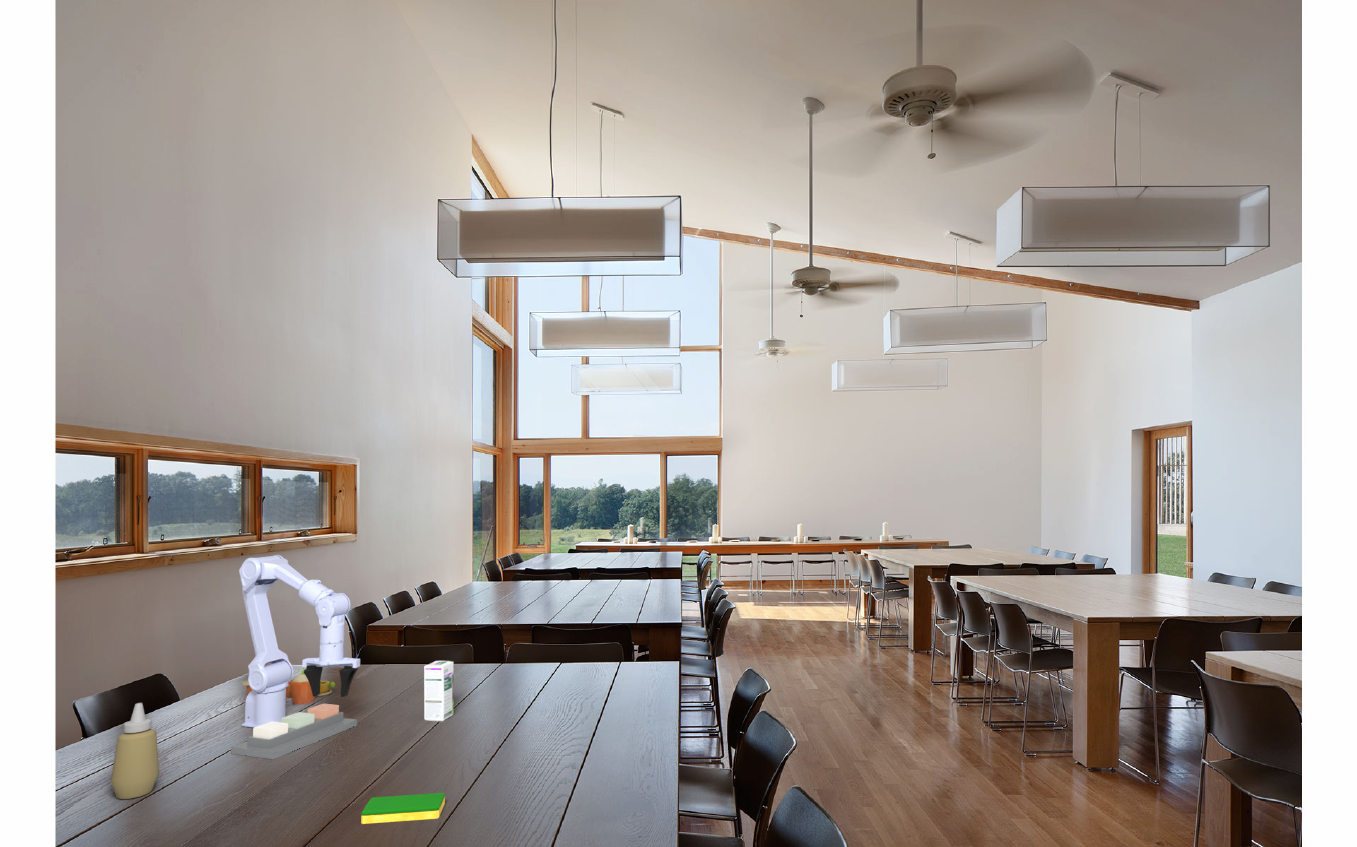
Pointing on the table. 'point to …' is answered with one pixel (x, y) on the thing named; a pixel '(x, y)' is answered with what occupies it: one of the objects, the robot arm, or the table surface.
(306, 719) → the sage key
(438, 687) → the syrup box
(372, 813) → the dish sponge
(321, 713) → the terracotta key
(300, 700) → the toy tea set
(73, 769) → the table surface
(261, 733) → the cream key
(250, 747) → the stepped grey tray
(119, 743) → the squeeze bottle
